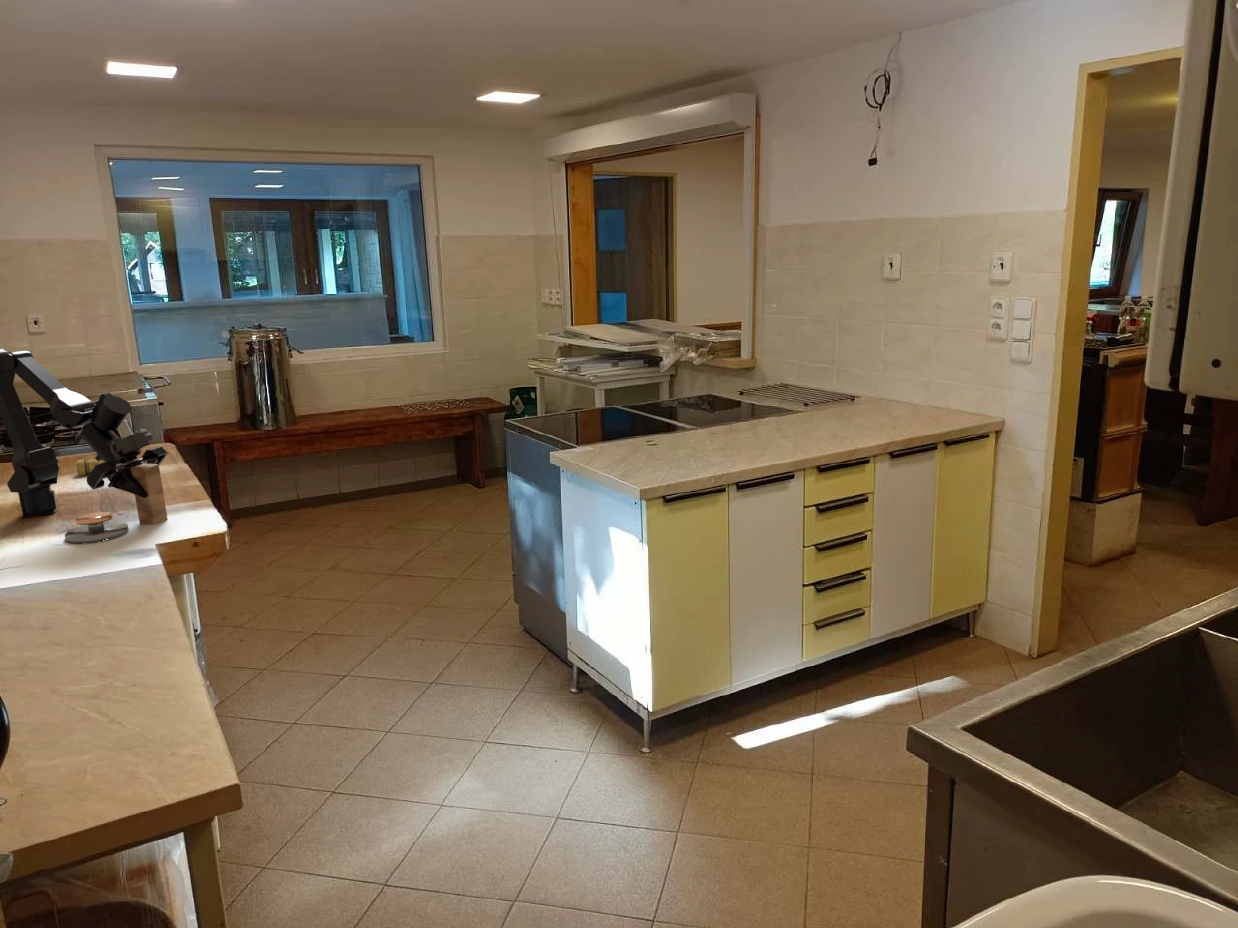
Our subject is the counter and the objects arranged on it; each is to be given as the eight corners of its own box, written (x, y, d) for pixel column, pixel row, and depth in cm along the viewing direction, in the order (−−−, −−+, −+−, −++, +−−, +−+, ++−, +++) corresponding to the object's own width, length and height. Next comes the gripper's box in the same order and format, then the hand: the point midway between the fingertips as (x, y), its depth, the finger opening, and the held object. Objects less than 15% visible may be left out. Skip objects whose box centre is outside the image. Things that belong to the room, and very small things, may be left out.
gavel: (86, 451, 261) (124, 447, 265) (89, 466, 262) (127, 462, 266) (75, 461, 242) (116, 457, 246) (77, 477, 243) (119, 473, 247)
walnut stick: (139, 523, 200) (130, 467, 197) (153, 518, 204) (144, 463, 200) (154, 524, 199) (144, 468, 195) (167, 519, 202) (158, 464, 199)
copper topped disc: (63, 547, 185) (59, 529, 184) (67, 531, 195) (64, 514, 194) (128, 537, 190) (125, 519, 189) (128, 522, 201) (126, 505, 200)
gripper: (87, 429, 188) (138, 481, 187) (154, 412, 205) (201, 460, 205) (65, 463, 192) (114, 514, 192) (132, 444, 209) (178, 491, 209)
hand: (154, 493), depth 199 cm, fingers closed on walnut stick, 4 cm apart
